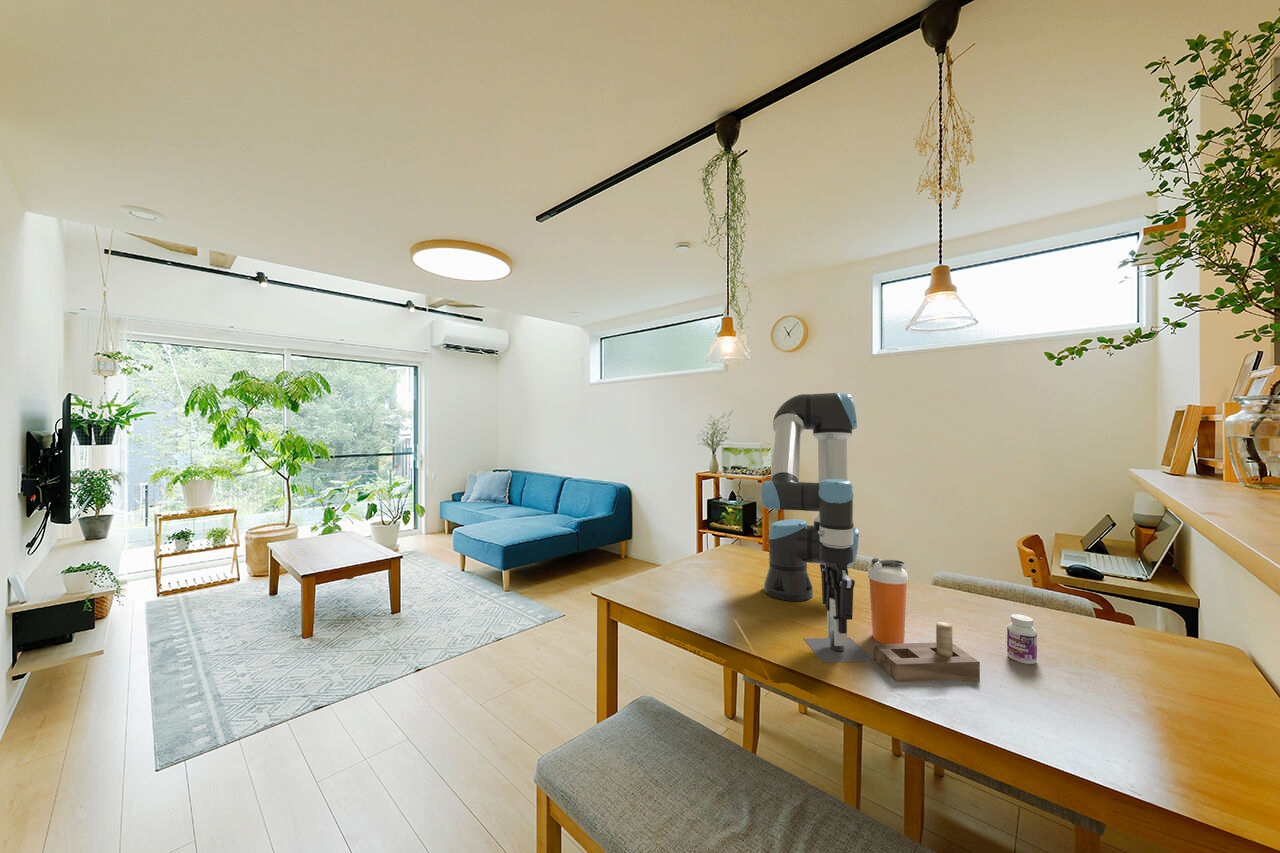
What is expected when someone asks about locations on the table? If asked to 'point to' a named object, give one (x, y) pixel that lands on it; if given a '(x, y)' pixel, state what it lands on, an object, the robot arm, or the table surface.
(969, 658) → the hole block
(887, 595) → the shaker bottle
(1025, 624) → the pill bottle
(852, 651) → the mat
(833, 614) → the peg
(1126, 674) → the table surface
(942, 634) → the dowel
